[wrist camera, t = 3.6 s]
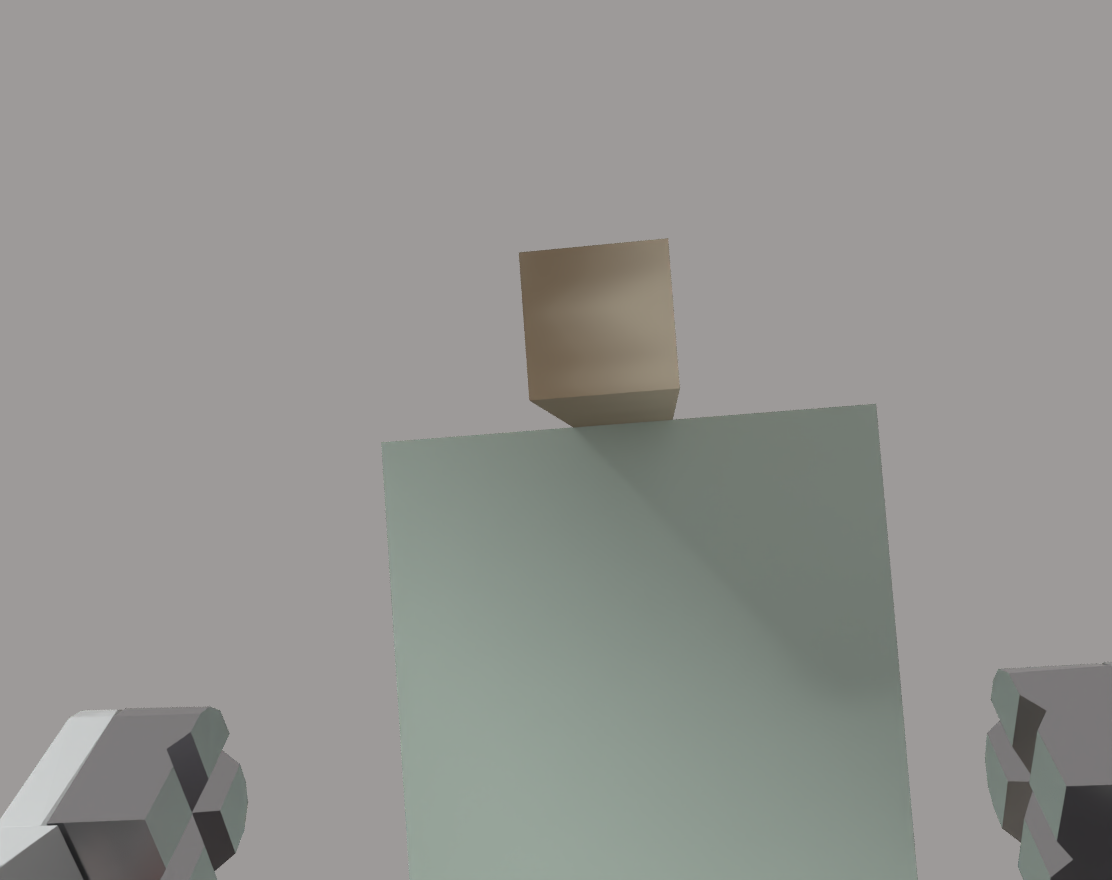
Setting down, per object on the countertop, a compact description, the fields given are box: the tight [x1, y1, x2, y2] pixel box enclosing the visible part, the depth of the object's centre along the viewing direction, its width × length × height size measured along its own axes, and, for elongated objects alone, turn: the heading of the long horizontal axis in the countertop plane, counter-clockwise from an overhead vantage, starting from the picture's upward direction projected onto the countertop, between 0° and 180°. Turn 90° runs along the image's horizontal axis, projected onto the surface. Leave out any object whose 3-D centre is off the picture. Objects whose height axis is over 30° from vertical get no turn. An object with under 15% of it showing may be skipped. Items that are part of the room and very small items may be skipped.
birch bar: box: [519, 238, 680, 427], centre depth 26 cm, size 2×20×2 cm, turn 174°
